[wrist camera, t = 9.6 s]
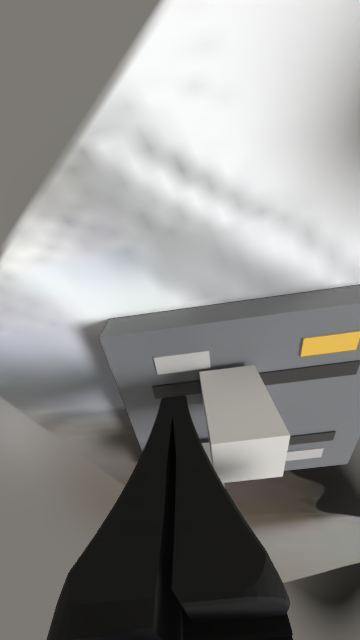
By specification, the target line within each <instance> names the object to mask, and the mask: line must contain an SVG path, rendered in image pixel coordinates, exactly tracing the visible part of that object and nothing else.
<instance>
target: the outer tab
mask: <svg viewBox="0 0 360 640" xmlns="http://www.w3.org/2000/svg"><path fill="white" fill-rule="evenodd" d="M199 374H200V382H201V391H202V399H203V407H204V414H205V420H206V427H207V433H208V439H209V446H210V452H211V459H212V465H213V467H214V469H215V471H216V473H217V475H218V477H219V478H220V480H221V482H222V483H226V482H236V481H245V480H254V479H263V478H272V477H281V476H283V472H284V467H285V461H286V456H287V451H288V445H289V440H290V433H289V432H288V430H287V428H286V426H285V424H284V422H283V420H282V418H281V416H280V414H279V412H278V410H277V408H276V406H275V404H274V402H273V400H272V398H271V396H270V395H269V393H268V391H267V389H266V387H265V385H264V383H263V381H262V379H261V377H260V375H259V373H258V371H257V369H256V367H255V365H250V366H242V367H234V368H226V369H218V370H210V371H202V372H199Z"/></svg>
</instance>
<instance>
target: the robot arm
mask: <svg viewBox="0 0 360 640" xmlns="http://www.w3.org/2000/svg"><path fill="white" fill-rule="evenodd" d="M289 606H290V601H289V597H288V595H287V592H286V589H285V587H284V585H283V582H282V580H281V578H280V576H279V574H278V572H277V571H276V569H275V567H274V565H273V563H272V561H271V559H270V557H269V555H268V553H267V551H266V550H265V548H264V547H263V545H262V544H261V543H260V541H259V540H258V538H257V537H256V535H255V534H254V532H253V531H252V530H251V528H250V527H249V525H248V524H247V522H246V521H245V519H244V518H243V516H242V514H241V513H240V511H239V510H238V508H237V507H236V505H235V503H234V502H233V500H232V499H231V497H230V495H229V494H228V492H227V490H226V489H225V487H224V485H223V484H222V482H221V480H220V478H219V477H218V475H217V473H216V471H215V469H214V467H213V466H212V464H211V462H210V460H209V458H208V456H207V454H206V452H205V450H204V448H203V445H202V443H201V441H200V439H199V436H198V434H197V432H196V429H195V427H194V424H193V421H192V418H191V415H190V412H189V408H188V402H187V397H186V396H185V395H181V396H173V397H165V398H162V399H161V402H160V406H159V410H158V413H157V416H156V419H155V422H154V425H153V428H152V430H151V433H150V436H149V438H148V441H147V443H146V445H145V447H144V450H143V452H142V454H141V457H140V459H139V461H138V463H137V465H136V467H135V469H134V471H133V473H132V475H131V477H130V479H129V480H128V482H127V484H126V486H125V488H124V490H123V491H122V493H121V495H120V497H119V498H118V500H117V502H116V503H115V505H114V507H113V508H112V510H111V511H110V513H109V514H108V516H107V518H106V519H105V521H104V522H103V524H102V525H101V527H100V528H99V530H98V532H97V533H96V535H95V536H94V538H93V539H92V541H91V542H90V543H89V545H88V546H87V548H86V549H85V550H84V552H83V553H82V555H81V556H80V557H79V559H78V560H77V562H76V563H75V565H74V566H73V567H72V569H71V570H70V572H69V573H68V575H67V578H66V580H65V583H64V586H63V588H62V591H61V594H60V597H59V599H58V602H57V605H56V609H55V612H54V616H53V620H52V623H51V626H50V630H49V633H48V637H47V640H293V639H292V635H293V634H292V629H291V626H290V623H289V619H288V615H287V611H288V609H289Z"/></svg>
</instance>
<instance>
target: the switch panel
mask: <svg viewBox="0 0 360 640" xmlns="http://www.w3.org/2000/svg"><path fill="white" fill-rule="evenodd" d="M99 339H100V342H101V344H102V347H103V350H104V352H105V355H106V358H107V360H108V363H109V366H110V368H111V371H112V373H113V376H114V379H115V381H116V384H117V387H118V389H119V392H120V395H121V397H122V400H123V402H124V405H125V408H126V410H127V413H128V416H129V418H130V421H131V423H132V426H133V429H134V431H135V434H136V437H137V439H138V442H139V445H140V447H141V450H142V452H143V450H144V447H145V445H146V443H147V441H148V438H149V436H150V433H151V430H152V428H153V425H154V422H155V419H156V416H157V413H158V410H159V406H160V402H161V399H162V398H165V397H173V396H181V395H185V396H186V397H187V402H188V408H189V412H190V415H191V418H192V421H193V424H194V427H195V429H196V432H197V434H198V436H199V439H200V441H201V443H208V442H209V439H208V433H207V427H206V420H205V414H204V407H203V399H202V391H201V382H200V374H199V372H202V371H210V370H218V369H226V368H234V367H242V366H250V365H255V367H256V369H257V371H258V373H259V375H260V377H261V379H262V381H263V383H264V385H265V387H266V389H267V391H268V393H269V395H270V396H271V398H272V400H273V402H274V404H275V406H276V408H277V410H278V412H279V414H280V416H281V418H282V420H283V422H284V424H285V426H286V428H287V430H288V432H289V433H290V440H289V445H288V451H287V456H286V461H285V467H284V471H286V470H294V469H304V468H312V467H321V466H331V465H340V464H347V463H348V461H349V459H350V457H351V454H352V452H353V450H354V448H355V445H356V443H357V441H358V439H359V436H360V285H355V286H348V287H340V288H333V289H326V290H318V291H311V292H304V293H296V294H289V295H282V296H274V297H267V298H260V299H252V300H245V301H238V302H230V303H223V304H216V305H208V306H201V307H194V308H186V309H179V310H172V311H164V312H157V313H150V314H142V315H135V316H128V317H120V318H113V319H109V320H108V322H107V324H106V326H105V327H104V329H103V331H102V333H101V335H100V337H99Z"/></svg>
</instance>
